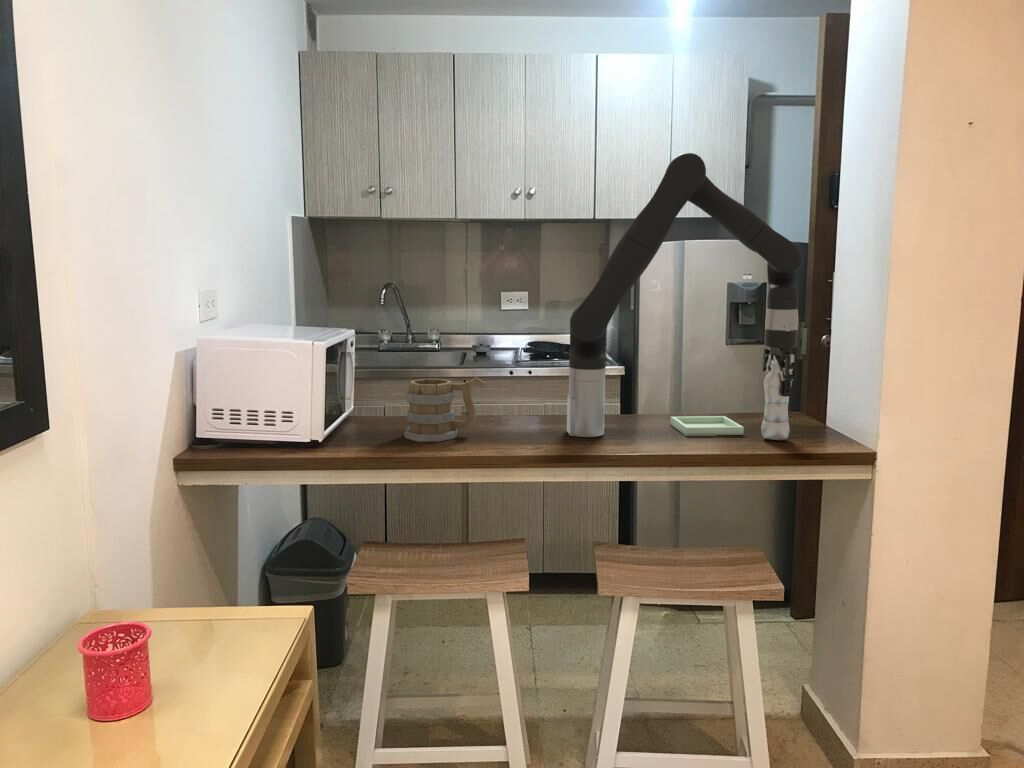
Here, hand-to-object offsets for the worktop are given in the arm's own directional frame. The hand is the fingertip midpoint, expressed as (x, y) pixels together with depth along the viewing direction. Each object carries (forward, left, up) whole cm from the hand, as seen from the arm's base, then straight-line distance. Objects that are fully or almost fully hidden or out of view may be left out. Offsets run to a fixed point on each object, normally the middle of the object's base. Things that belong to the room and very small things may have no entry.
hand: (777, 393), depth 182 cm
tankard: (-82, +8, -12) cm, 83 cm away
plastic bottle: (0, 0, -12) cm, 12 cm away
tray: (-14, +12, -12) cm, 22 cm away
